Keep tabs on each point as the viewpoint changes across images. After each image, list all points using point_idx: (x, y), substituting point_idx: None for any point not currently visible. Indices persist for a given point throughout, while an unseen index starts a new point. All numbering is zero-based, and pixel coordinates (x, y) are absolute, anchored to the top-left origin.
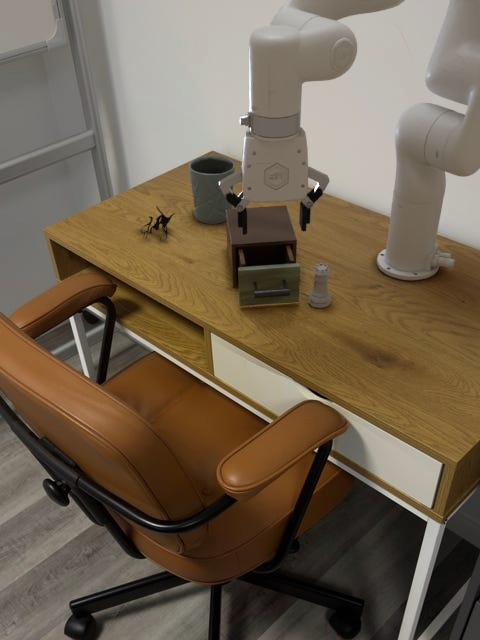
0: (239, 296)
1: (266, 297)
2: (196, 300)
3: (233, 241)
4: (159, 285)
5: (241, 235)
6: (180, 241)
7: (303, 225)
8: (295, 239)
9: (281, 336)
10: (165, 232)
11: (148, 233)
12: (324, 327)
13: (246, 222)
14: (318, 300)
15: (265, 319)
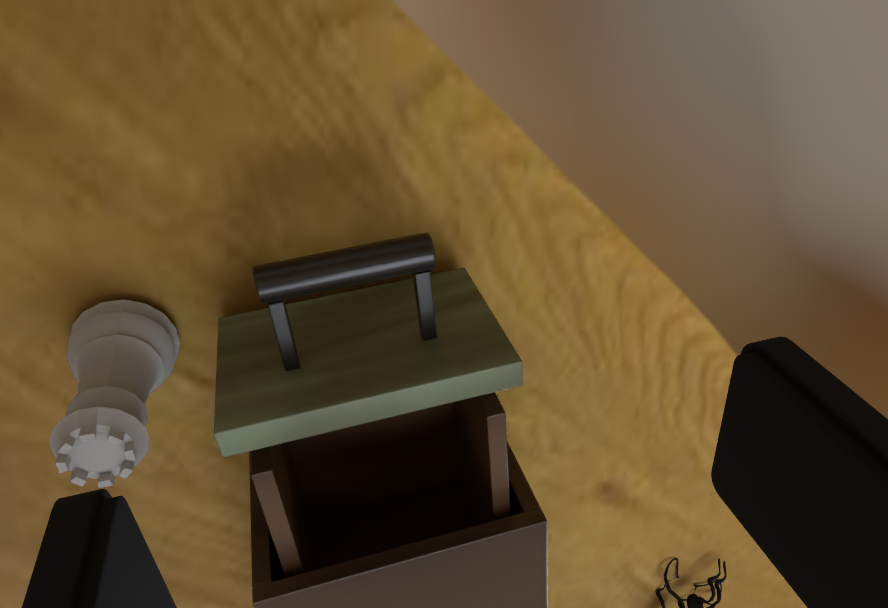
0: (478, 291)
1: (371, 243)
2: (609, 303)
3: (537, 539)
4: (713, 367)
5: (501, 580)
6: (624, 569)
7: (79, 552)
8: (259, 603)
9: (276, 83)
10: (670, 589)
11: (717, 575)
12: (70, 162)
13: (845, 436)
14: (121, 319)
15: (355, 207)
